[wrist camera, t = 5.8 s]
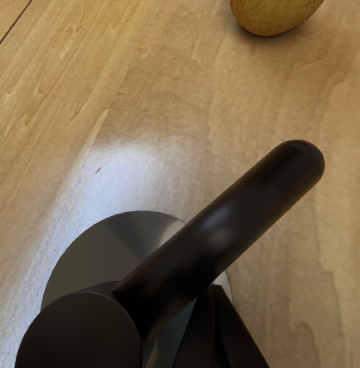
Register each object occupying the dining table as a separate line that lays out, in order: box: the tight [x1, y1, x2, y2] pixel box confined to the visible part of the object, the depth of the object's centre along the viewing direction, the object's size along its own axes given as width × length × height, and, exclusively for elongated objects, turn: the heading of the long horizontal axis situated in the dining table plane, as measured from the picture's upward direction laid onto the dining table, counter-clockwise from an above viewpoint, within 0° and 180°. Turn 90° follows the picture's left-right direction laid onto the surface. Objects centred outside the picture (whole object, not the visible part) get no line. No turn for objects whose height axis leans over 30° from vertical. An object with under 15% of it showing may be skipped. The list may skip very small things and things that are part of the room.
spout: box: [15, 140, 325, 368], centre depth 9 cm, size 13×4×4 cm, turn 130°
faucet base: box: [40, 211, 234, 368], centre depth 12 cm, size 12×12×6 cm
